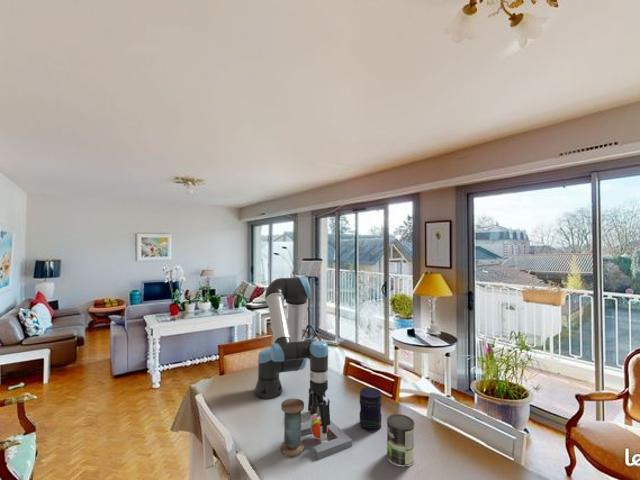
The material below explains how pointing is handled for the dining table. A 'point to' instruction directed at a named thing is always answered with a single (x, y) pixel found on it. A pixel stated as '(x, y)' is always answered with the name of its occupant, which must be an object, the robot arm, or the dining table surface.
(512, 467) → the dining table surface
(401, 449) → the coffee can
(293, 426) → the bobbin
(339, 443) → the notched board
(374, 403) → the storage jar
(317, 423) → the clementine
